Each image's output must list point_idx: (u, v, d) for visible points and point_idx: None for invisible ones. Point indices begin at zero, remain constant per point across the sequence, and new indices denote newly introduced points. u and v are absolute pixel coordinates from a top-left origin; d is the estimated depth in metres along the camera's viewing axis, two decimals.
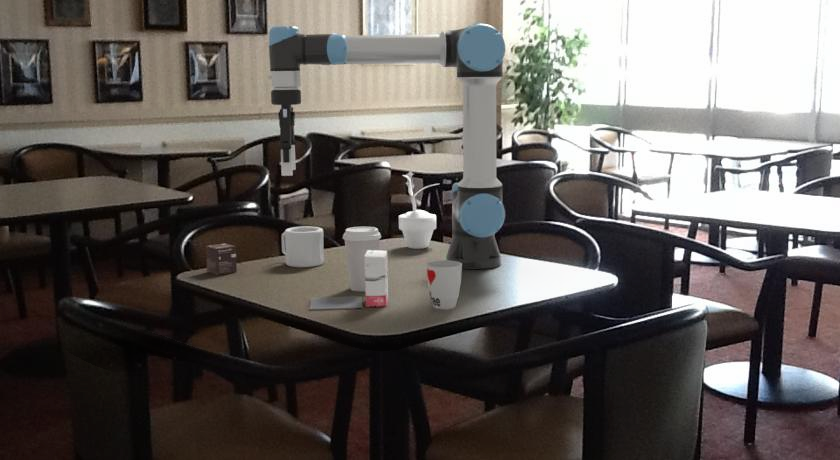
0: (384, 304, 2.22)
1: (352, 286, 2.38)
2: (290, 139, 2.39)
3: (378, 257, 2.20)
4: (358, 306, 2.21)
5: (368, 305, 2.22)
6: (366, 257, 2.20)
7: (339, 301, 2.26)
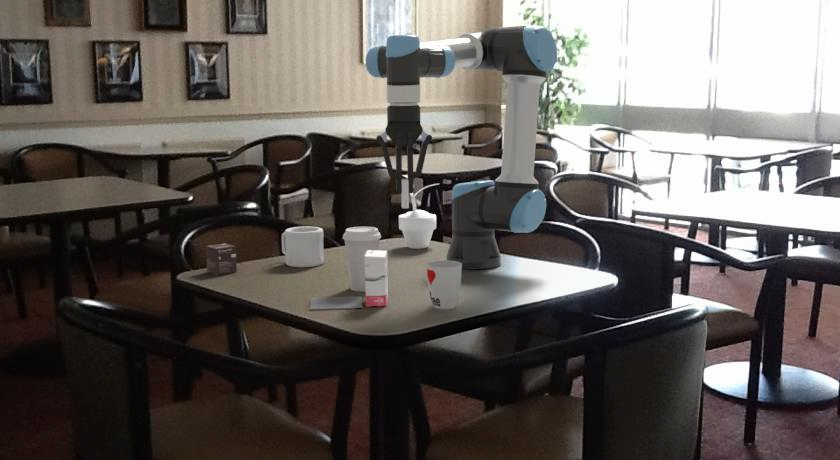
0: (384, 304, 2.22)
1: (352, 286, 2.38)
2: (396, 169, 2.20)
3: (378, 257, 2.20)
4: (358, 306, 2.21)
5: (368, 305, 2.22)
6: (366, 257, 2.20)
7: (339, 301, 2.26)
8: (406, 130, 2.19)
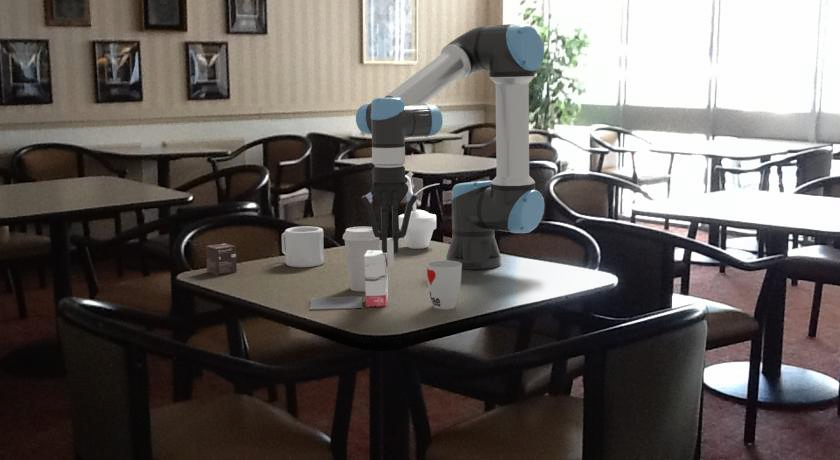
0: (384, 304, 2.22)
1: (352, 286, 2.38)
2: (381, 229, 2.22)
3: (378, 257, 2.20)
4: (358, 306, 2.21)
5: (368, 305, 2.22)
6: (366, 257, 2.20)
7: (339, 301, 2.26)
8: (391, 191, 2.21)
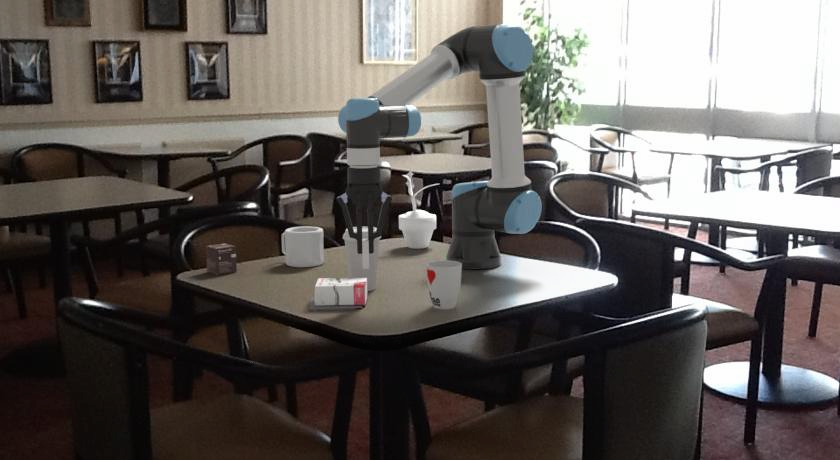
0: (362, 286, 2.21)
1: None
2: (357, 230, 2.21)
3: (315, 291, 2.21)
4: (358, 306, 2.21)
5: (363, 302, 2.21)
6: (315, 303, 2.22)
7: None
8: (366, 191, 2.20)
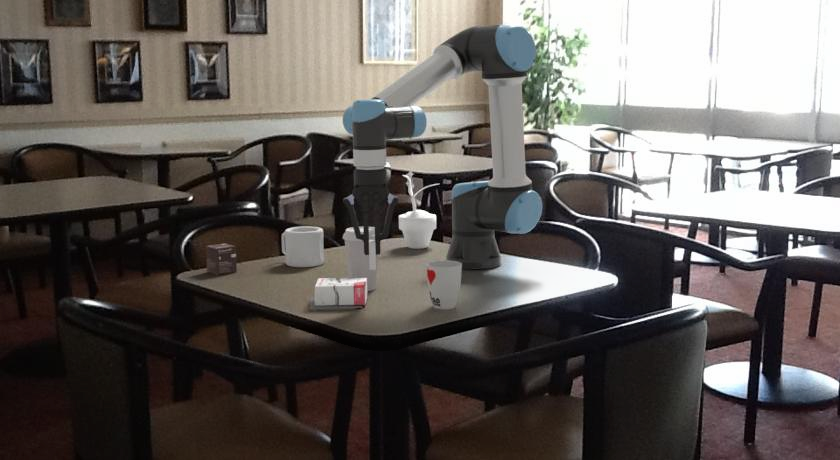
0: (362, 286, 2.21)
1: None
2: None
3: (315, 292, 2.21)
4: (358, 306, 2.21)
5: (363, 302, 2.21)
6: (315, 303, 2.22)
7: None
8: (372, 193, 2.21)
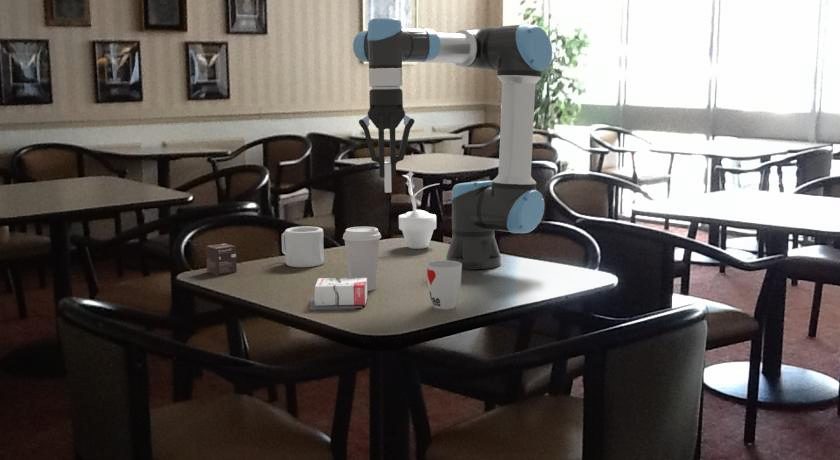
0: (362, 286, 2.21)
1: None
2: (379, 153, 2.19)
3: (315, 292, 2.21)
4: (358, 306, 2.21)
5: (363, 302, 2.21)
6: (315, 303, 2.22)
7: None
8: (388, 114, 2.18)
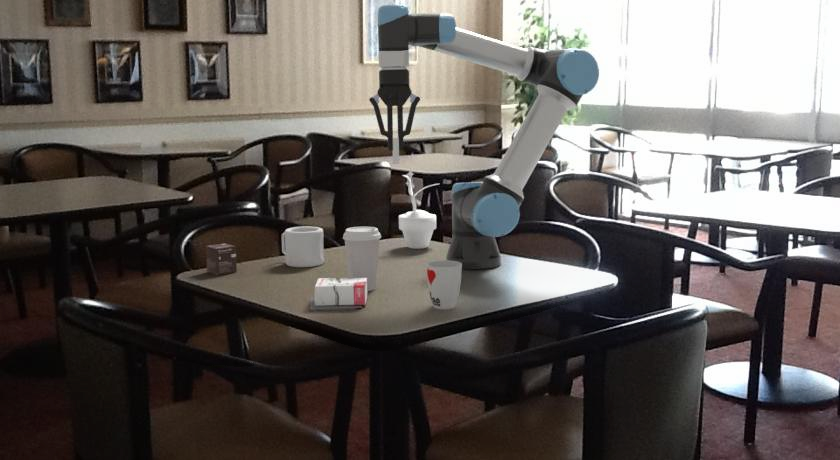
0: (362, 286, 2.21)
1: None
2: (388, 128, 2.41)
3: (315, 292, 2.21)
4: (358, 306, 2.21)
5: (363, 302, 2.21)
6: (315, 303, 2.22)
7: None
8: (396, 92, 2.40)
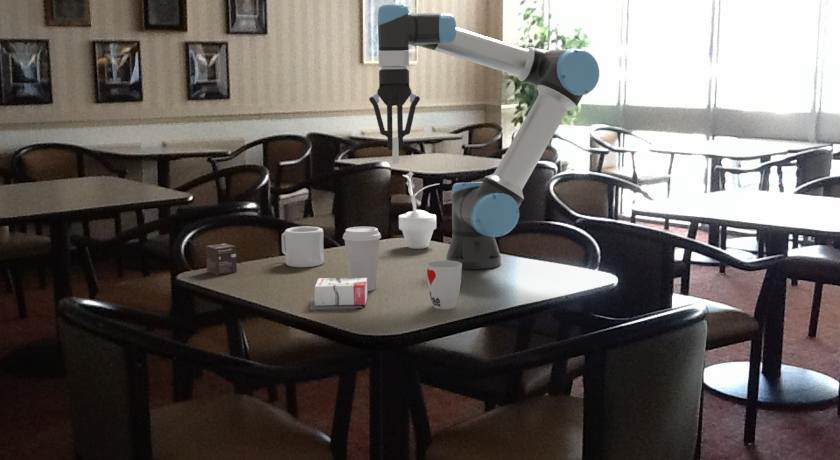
0: (362, 286, 2.21)
1: None
2: (387, 127, 2.41)
3: (315, 292, 2.21)
4: (358, 306, 2.21)
5: (363, 302, 2.21)
6: (315, 303, 2.22)
7: None
8: (396, 92, 2.40)
